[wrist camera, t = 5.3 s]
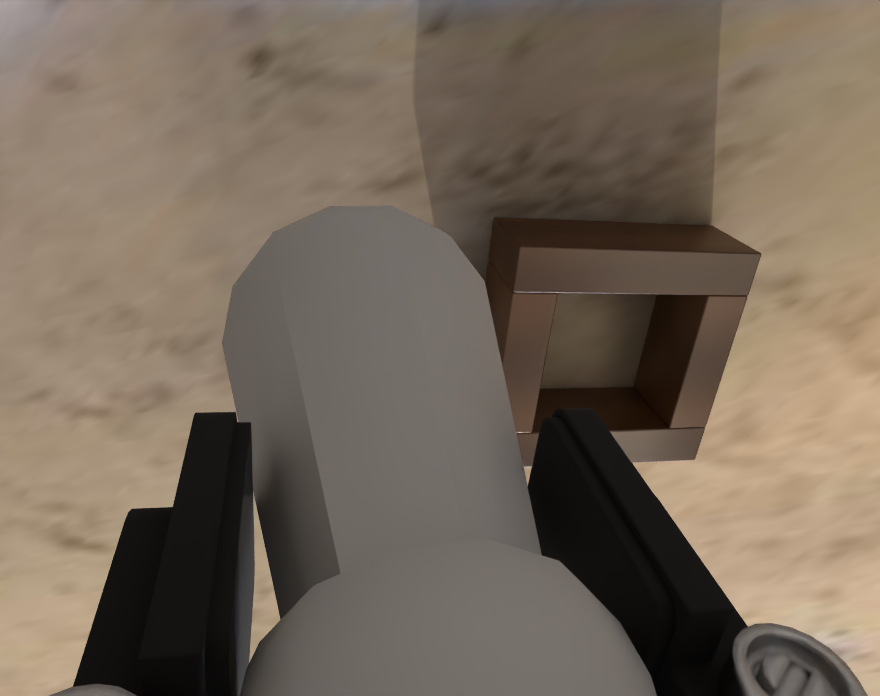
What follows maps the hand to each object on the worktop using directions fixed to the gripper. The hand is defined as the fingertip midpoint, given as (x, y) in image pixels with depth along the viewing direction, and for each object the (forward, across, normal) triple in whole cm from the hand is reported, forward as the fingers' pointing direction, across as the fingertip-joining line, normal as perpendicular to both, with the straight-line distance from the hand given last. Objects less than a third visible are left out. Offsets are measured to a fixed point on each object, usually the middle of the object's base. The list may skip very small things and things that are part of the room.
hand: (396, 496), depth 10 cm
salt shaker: (+8, 0, 0) cm, 8 cm away
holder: (+21, -13, +7) cm, 25 cm away
